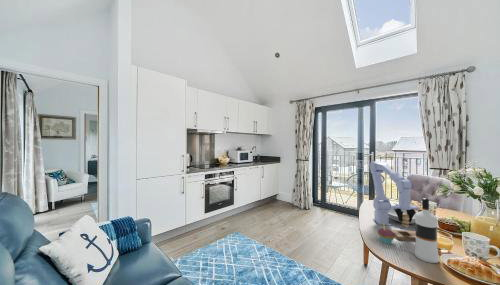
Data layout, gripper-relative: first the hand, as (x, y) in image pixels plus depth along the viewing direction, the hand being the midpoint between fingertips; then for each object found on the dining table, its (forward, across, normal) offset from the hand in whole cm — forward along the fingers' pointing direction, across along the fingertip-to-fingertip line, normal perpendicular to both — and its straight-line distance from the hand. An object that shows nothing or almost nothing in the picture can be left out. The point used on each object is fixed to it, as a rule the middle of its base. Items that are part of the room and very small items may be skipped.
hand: (404, 221), depth 119 cm
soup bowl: (+10, +13, +25) cm, 30 cm away
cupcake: (+10, -14, -8) cm, 19 cm away
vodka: (+10, -3, -23) cm, 25 cm away
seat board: (+9, +3, 0) cm, 10 cm away
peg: (+3, 0, 0) cm, 3 cm away
